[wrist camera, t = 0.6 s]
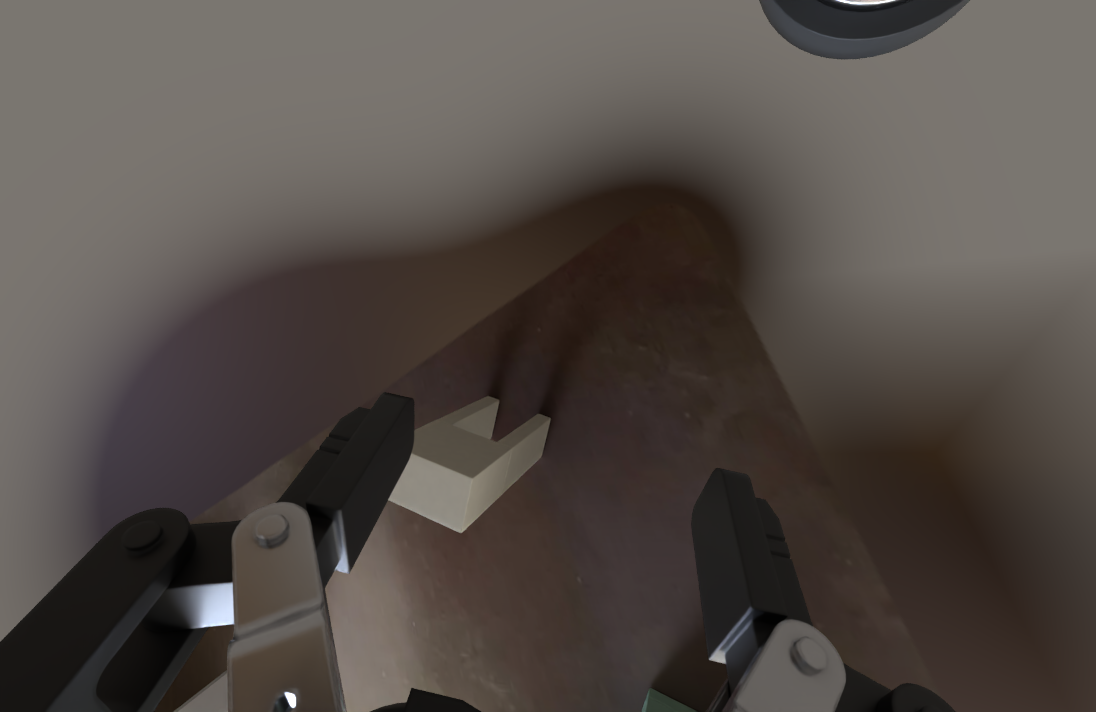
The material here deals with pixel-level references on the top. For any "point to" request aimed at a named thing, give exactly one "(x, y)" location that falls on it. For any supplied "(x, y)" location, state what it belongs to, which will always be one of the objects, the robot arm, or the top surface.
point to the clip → (466, 464)
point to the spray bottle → (209, 698)
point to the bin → (663, 703)
